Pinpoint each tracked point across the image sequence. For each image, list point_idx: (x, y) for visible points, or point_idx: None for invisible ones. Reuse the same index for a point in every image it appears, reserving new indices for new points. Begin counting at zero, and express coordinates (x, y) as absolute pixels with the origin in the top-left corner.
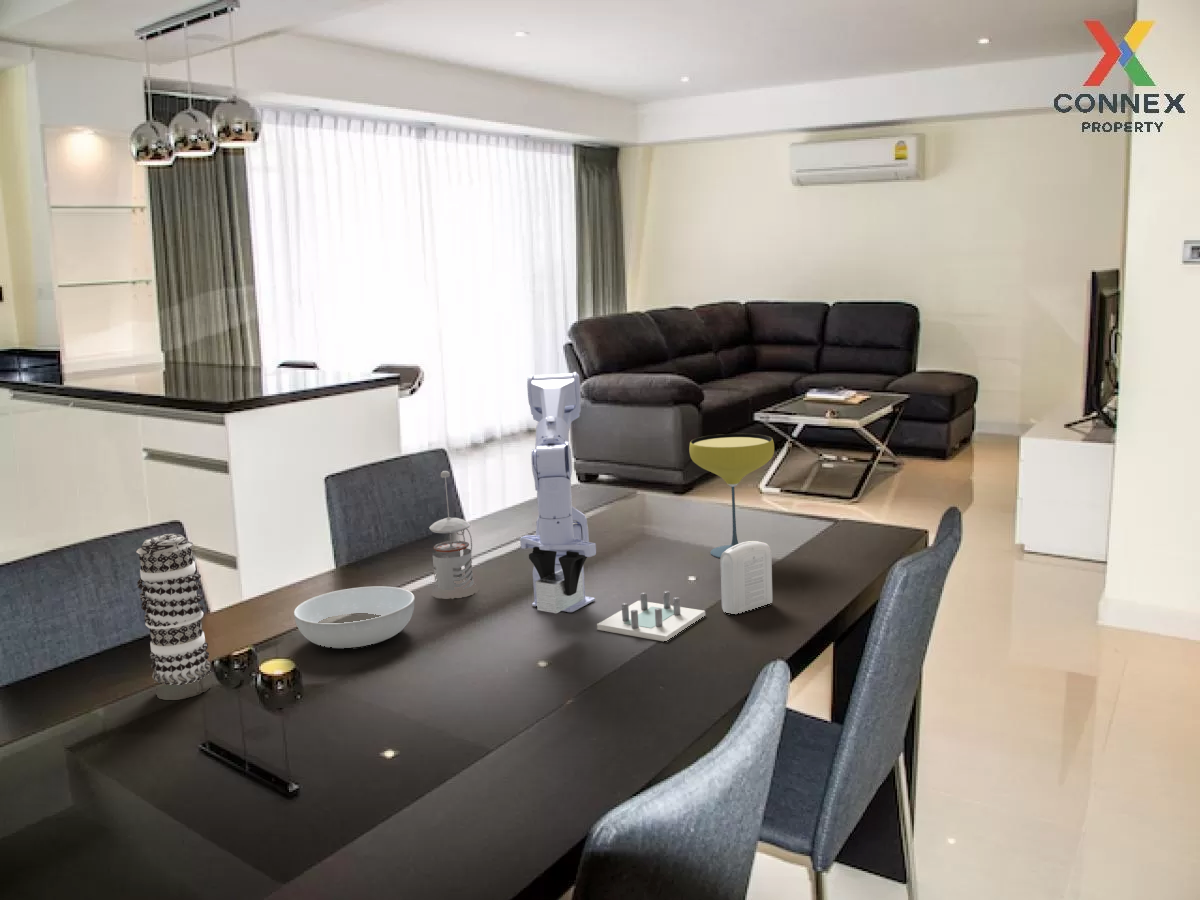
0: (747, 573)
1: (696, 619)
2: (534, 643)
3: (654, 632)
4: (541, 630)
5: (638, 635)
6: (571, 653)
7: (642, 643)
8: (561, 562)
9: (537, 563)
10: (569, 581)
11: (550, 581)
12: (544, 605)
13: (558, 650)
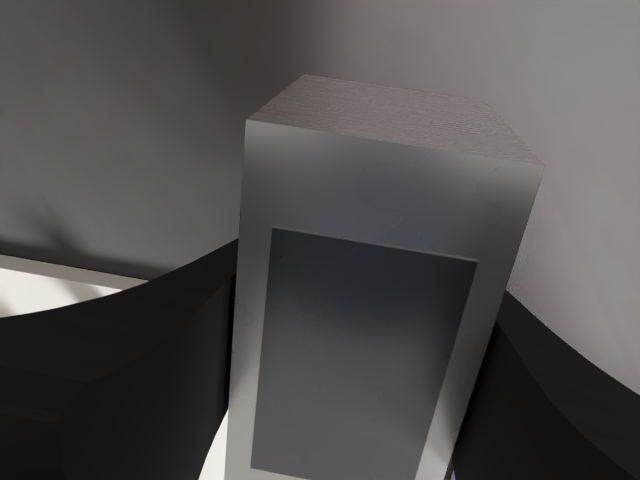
0: None
1: None
2: (490, 74)
3: (6, 283)
4: (524, 242)
5: (78, 271)
6: (238, 5)
7: (29, 212)
8: (69, 360)
9: (636, 434)
10: (171, 274)
11: (355, 214)
12: (414, 97)
13: (321, 22)
